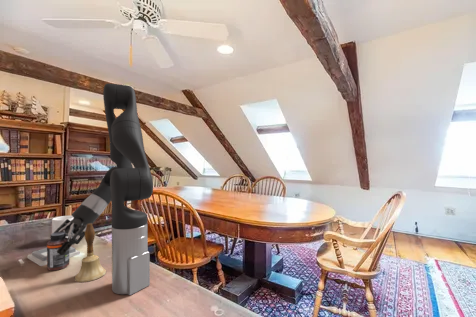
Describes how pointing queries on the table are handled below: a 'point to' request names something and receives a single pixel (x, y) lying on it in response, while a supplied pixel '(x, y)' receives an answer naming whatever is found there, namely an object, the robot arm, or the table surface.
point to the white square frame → (41, 255)
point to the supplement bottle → (53, 258)
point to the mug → (59, 222)
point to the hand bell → (90, 260)
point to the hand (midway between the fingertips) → (53, 251)
